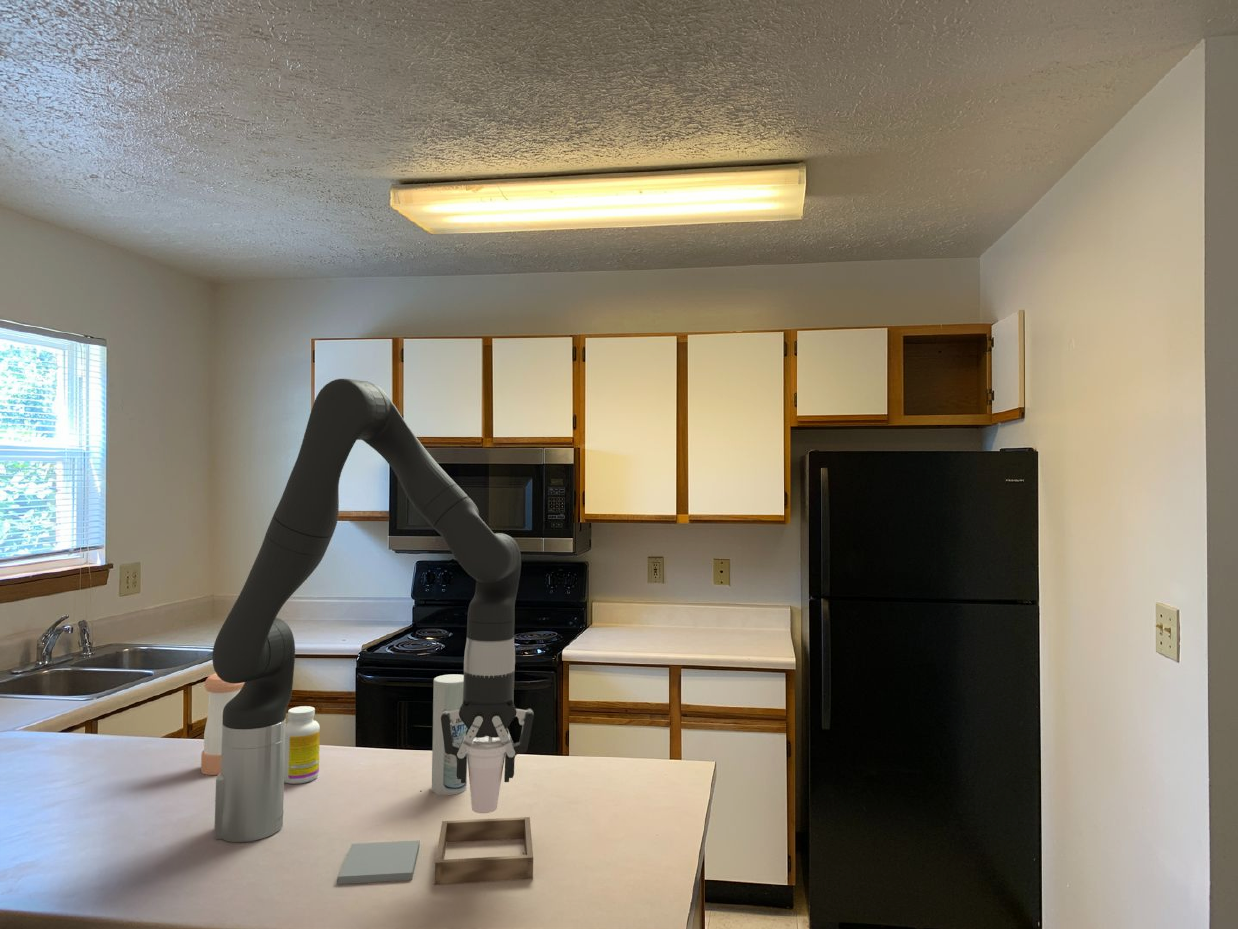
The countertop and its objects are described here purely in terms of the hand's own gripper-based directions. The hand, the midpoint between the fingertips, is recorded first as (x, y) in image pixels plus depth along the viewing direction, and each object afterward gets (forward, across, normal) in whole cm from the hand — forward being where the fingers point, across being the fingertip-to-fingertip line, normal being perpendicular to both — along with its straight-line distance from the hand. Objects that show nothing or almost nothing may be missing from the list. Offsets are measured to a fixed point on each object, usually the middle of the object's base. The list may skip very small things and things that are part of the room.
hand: (485, 780), depth 116 cm
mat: (+12, -15, 0) cm, 19 cm away
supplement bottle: (+12, -34, +36) cm, 51 cm away
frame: (+11, 0, 0) cm, 11 cm away
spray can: (+12, -7, +28) cm, 31 cm away
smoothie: (+4, 0, 0) cm, 4 cm away
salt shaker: (+13, -50, +43) cm, 67 cm away
